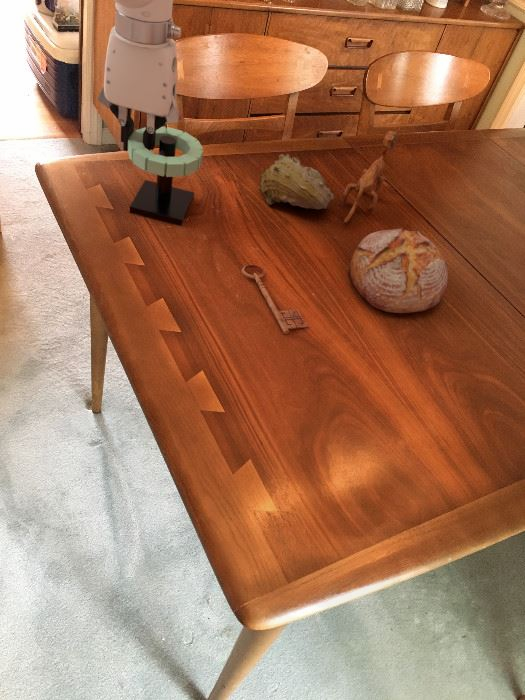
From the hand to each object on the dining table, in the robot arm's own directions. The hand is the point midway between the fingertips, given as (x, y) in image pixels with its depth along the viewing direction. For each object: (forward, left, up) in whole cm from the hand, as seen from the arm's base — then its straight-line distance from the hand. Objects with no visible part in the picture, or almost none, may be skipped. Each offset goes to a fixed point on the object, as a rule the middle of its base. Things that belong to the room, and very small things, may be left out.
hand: (137, 148), depth 90 cm
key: (+27, -17, -9) cm, 33 cm away
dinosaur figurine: (+40, +16, -10) cm, 44 cm away
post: (+5, 0, -9) cm, 11 cm away
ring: (+5, 0, 0) cm, 5 cm away
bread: (+47, -5, -10) cm, 48 cm away
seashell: (+27, +12, -10) cm, 31 cm away
